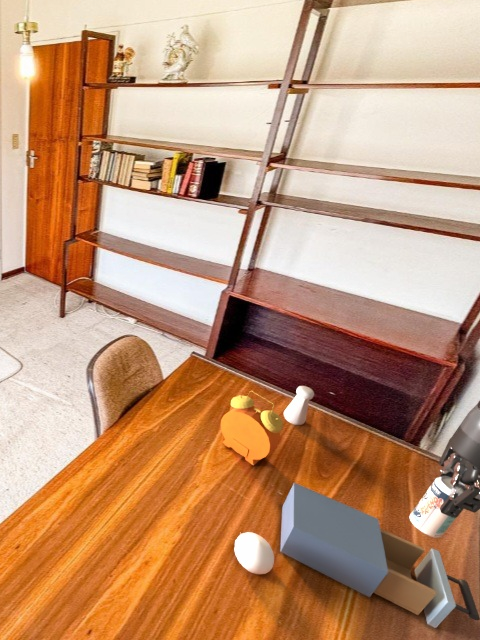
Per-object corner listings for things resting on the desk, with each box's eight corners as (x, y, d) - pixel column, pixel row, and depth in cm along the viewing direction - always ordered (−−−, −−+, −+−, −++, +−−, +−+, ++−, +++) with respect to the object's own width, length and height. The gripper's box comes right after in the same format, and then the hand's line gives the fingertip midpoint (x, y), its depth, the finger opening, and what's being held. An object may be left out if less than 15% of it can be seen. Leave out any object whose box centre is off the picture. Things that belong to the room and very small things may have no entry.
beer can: (409, 510, 80) (437, 469, 75) (441, 527, 77) (473, 486, 72) (407, 526, 77) (436, 484, 72) (440, 544, 74) (473, 502, 69)
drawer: (451, 587, 81) (471, 565, 78) (469, 646, 72) (493, 623, 69) (337, 534, 90) (351, 512, 87) (341, 581, 81) (356, 558, 78)
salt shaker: (286, 427, 121) (300, 394, 115) (278, 413, 126) (291, 381, 120) (306, 430, 120) (322, 397, 114) (298, 416, 125) (312, 384, 119)
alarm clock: (270, 463, 108) (295, 408, 100) (259, 473, 105) (283, 417, 97) (225, 431, 118) (244, 378, 110) (213, 440, 115) (231, 386, 106)
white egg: (276, 579, 82) (288, 558, 79) (244, 584, 81) (254, 563, 78) (246, 531, 91) (255, 511, 88) (216, 535, 90) (224, 514, 87)
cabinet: (360, 546, 89) (378, 519, 85) (367, 600, 79) (388, 572, 75) (281, 509, 96) (294, 482, 92) (278, 554, 87) (293, 526, 82)
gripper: (544, 478, 59) (484, 546, 67) (507, 419, 70) (458, 484, 78) (475, 454, 63) (425, 522, 70) (450, 402, 74) (409, 466, 81)
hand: (443, 502), depth 74 cm, fingers closed on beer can, 4 cm apart
